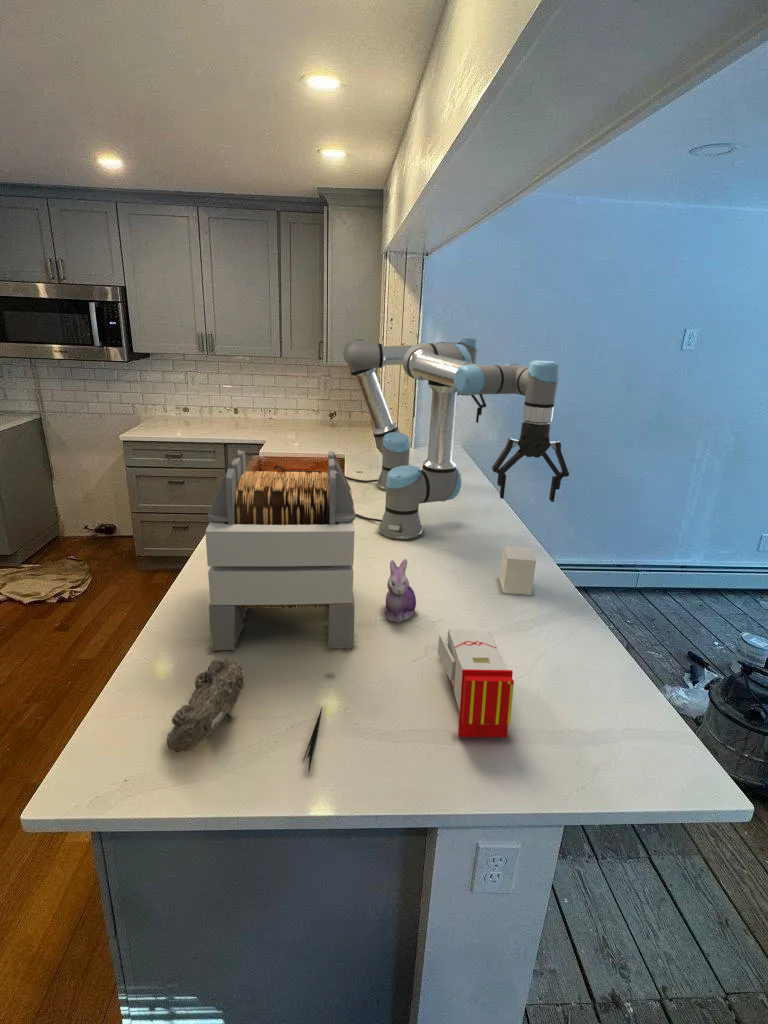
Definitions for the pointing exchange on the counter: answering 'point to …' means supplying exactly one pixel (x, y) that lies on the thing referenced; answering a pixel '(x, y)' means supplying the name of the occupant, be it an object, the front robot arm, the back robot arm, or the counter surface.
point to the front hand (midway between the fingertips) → (526, 498)
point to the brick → (517, 570)
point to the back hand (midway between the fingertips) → (462, 421)
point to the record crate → (281, 548)
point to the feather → (313, 740)
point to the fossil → (206, 705)
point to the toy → (478, 682)
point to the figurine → (399, 594)
